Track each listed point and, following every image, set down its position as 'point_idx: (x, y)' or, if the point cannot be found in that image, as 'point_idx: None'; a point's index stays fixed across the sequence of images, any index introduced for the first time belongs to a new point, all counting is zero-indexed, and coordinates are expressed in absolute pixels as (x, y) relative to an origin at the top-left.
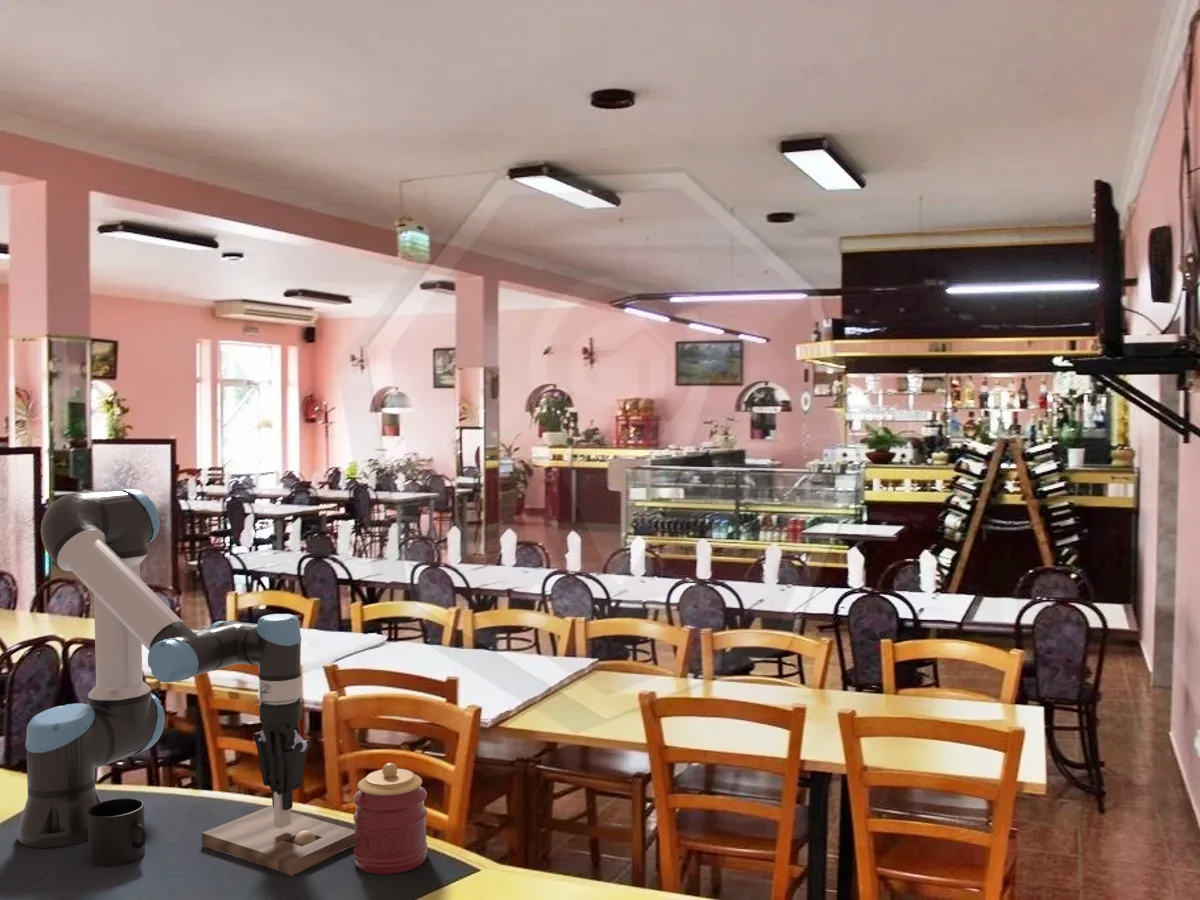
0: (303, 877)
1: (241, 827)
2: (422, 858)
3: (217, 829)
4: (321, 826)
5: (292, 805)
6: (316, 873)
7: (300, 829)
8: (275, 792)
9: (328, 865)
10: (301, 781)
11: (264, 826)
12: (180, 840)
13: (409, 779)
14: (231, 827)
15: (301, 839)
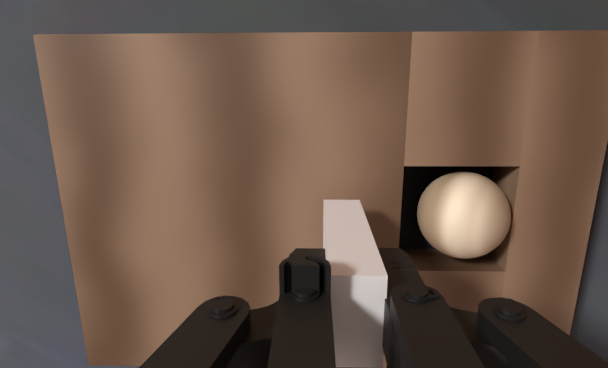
0: (574, 329)
1: (156, 265)
2: None
3: (102, 320)
4: (432, 83)
5: (409, 256)
6: (595, 292)
7: (374, 157)
8: (340, 364)
9: (593, 232)
10: (571, 341)
11: (221, 212)
12: (16, 338)
13: None
14: (126, 284)
15: (484, 254)
